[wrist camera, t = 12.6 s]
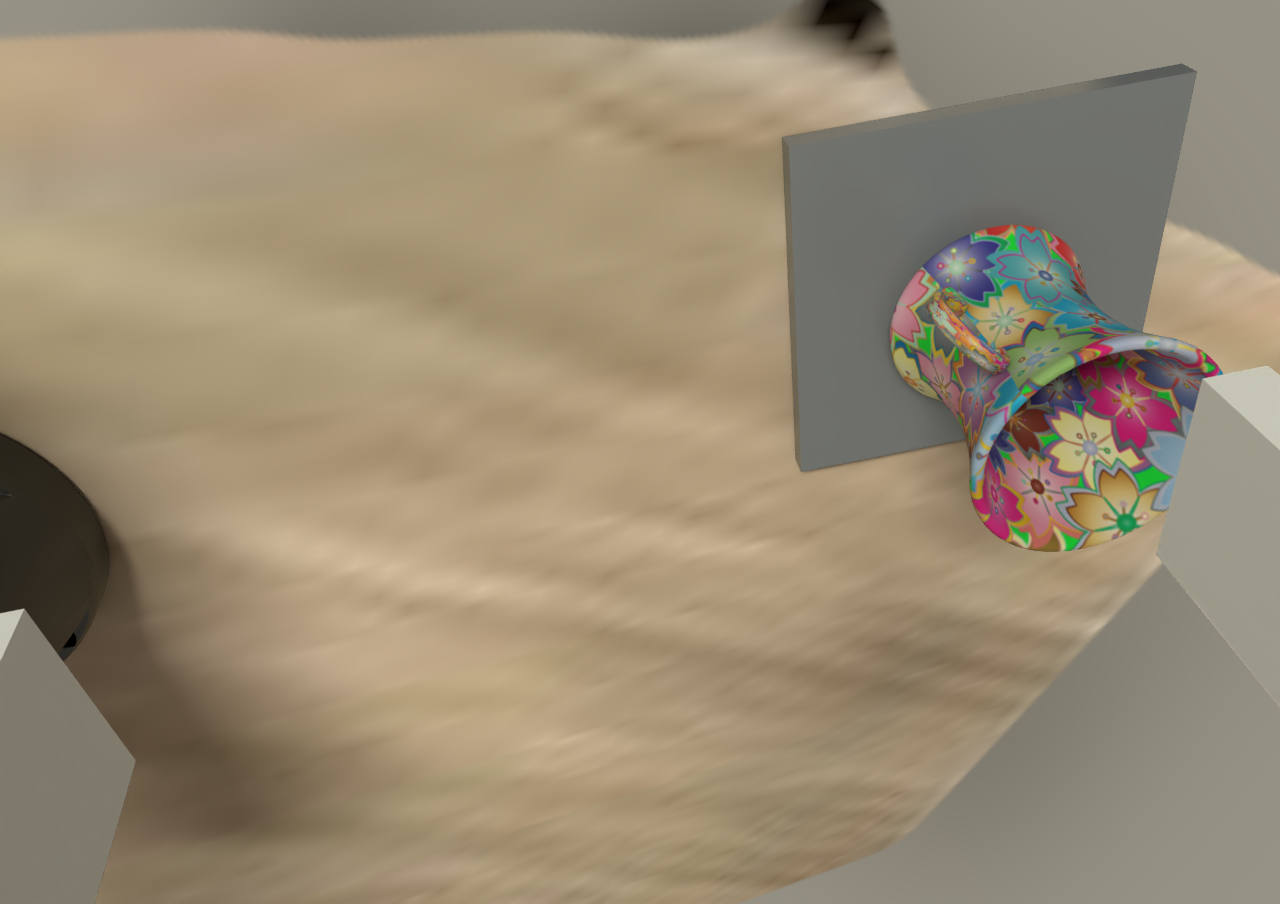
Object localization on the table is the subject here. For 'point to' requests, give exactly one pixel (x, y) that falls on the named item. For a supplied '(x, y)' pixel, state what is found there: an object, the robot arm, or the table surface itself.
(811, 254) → the slate board
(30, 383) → the table surface
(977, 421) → the mug
